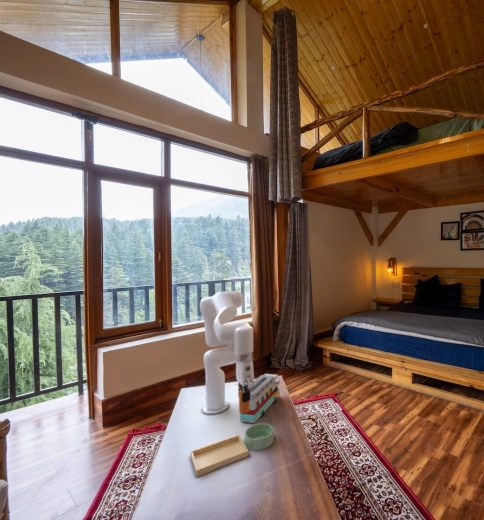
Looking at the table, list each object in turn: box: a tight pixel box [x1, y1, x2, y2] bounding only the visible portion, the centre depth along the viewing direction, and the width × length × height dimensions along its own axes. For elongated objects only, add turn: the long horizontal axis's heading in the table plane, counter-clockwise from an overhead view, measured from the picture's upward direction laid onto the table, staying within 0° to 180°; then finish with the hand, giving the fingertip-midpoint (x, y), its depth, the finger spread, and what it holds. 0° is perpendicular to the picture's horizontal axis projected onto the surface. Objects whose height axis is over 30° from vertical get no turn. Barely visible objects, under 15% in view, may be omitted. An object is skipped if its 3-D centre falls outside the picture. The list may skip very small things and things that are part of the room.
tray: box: [190, 434, 249, 478], centre depth 121 cm, size 13×19×2 cm
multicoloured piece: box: [239, 373, 281, 424], centre depth 159 cm, size 8×30×15 cm, turn 168°
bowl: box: [244, 422, 274, 451], centre depth 130 cm, size 12×12×5 cm
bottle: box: [238, 386, 249, 414], centre depth 126 cm, size 4×4×11 cm
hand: (244, 398), depth 126 cm, fingers closed on bottle, 4 cm apart
